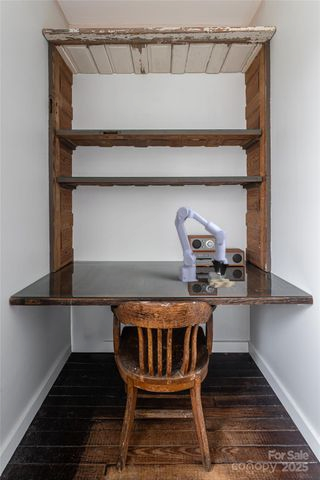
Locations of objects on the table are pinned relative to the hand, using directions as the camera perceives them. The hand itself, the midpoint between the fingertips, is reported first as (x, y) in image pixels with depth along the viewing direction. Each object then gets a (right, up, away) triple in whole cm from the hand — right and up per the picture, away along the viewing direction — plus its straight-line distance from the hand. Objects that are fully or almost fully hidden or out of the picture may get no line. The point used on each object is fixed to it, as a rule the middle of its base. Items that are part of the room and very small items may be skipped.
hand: (219, 273), depth 182 cm
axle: (-1, -1, 0) cm, 2 cm away
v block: (-2, -5, 0) cm, 5 cm away
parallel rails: (0, -6, -7) cm, 9 cm away
